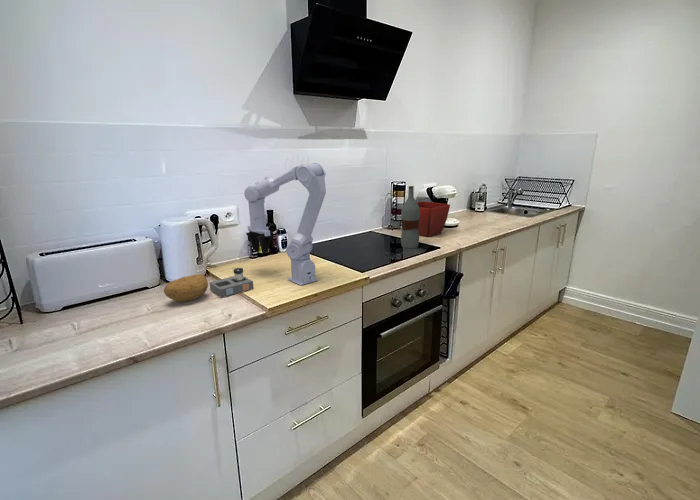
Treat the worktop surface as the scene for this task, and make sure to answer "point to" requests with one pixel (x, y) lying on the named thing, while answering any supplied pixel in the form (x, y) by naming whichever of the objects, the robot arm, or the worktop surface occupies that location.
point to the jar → (238, 274)
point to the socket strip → (230, 286)
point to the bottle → (410, 221)
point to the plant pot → (432, 218)
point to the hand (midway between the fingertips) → (260, 251)
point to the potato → (186, 288)
